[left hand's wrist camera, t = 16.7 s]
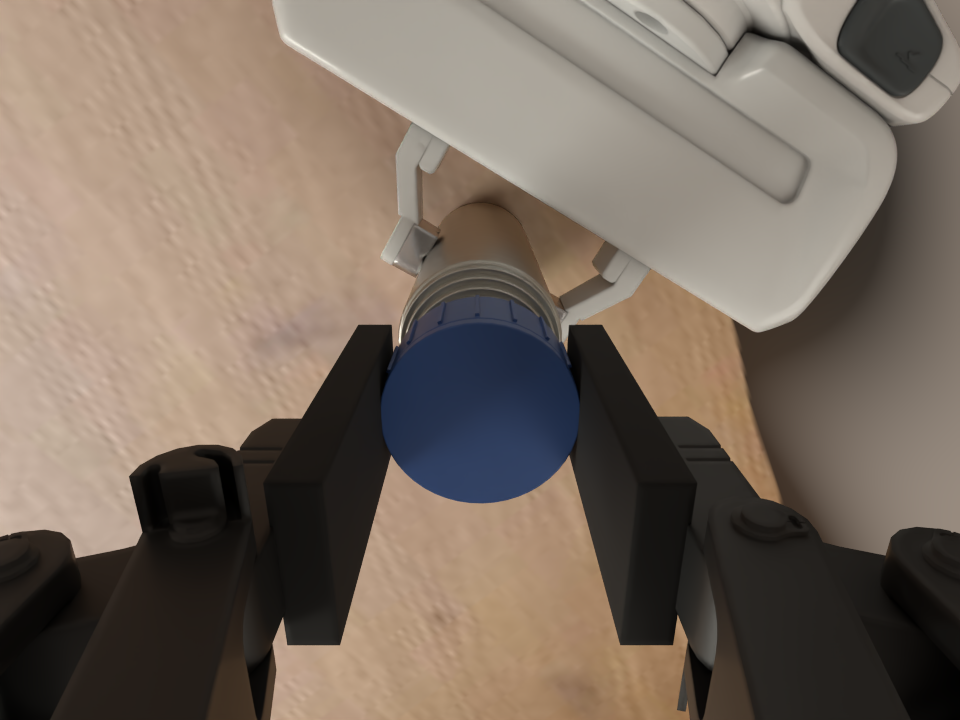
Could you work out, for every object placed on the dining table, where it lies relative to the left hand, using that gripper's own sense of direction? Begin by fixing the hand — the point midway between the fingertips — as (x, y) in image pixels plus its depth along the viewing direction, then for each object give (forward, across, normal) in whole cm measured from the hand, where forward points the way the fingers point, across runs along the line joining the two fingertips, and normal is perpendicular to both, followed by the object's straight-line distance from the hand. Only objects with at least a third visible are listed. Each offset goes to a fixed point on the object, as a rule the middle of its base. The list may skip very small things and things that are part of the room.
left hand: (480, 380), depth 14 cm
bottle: (+15, 0, 0) cm, 15 cm away
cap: (-2, 0, 0) cm, 2 cm away
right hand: (+9, 0, -1) cm, 9 cm away
